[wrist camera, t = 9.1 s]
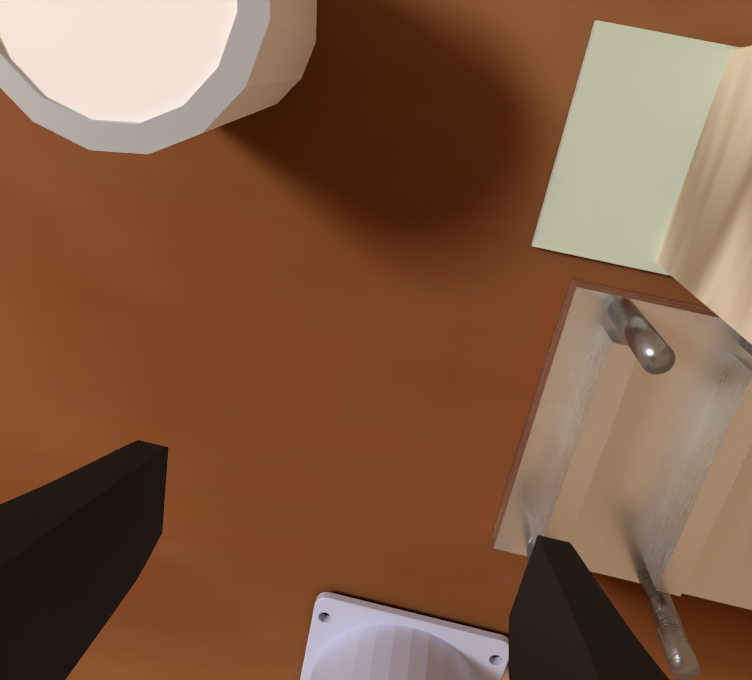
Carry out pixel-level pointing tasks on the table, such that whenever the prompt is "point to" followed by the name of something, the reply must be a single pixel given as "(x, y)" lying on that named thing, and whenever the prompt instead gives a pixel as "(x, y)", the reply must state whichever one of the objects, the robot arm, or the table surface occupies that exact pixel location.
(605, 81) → the mat
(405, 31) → the table surface
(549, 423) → the rack
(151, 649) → the table surface
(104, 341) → the table surface
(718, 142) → the birch block
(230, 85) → the white cylinder
